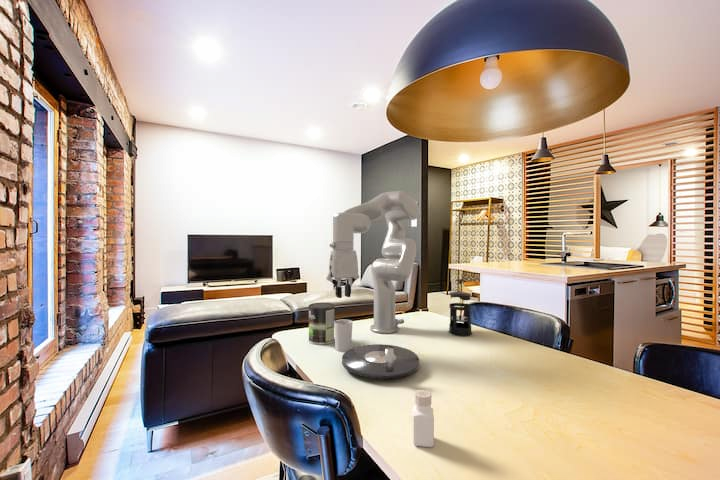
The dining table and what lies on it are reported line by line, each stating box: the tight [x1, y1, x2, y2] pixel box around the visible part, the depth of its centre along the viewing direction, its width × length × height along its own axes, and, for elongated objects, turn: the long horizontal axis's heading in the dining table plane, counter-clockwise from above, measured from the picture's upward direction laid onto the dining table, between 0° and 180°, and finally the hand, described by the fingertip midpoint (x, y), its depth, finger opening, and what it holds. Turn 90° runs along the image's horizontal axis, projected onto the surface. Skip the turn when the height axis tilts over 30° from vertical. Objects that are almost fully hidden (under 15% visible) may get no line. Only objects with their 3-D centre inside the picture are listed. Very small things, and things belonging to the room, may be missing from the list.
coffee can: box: [308, 302, 336, 346], centre depth 125 cm, size 10×10×14 cm
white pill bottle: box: [412, 389, 435, 448], centre depth 62 cm, size 4×4×10 cm
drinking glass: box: [334, 319, 353, 353], centre depth 115 cm, size 7×7×10 cm
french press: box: [448, 278, 473, 337], centre depth 135 cm, size 12×9×23 cm
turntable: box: [341, 343, 420, 379], centre depth 99 cm, size 24×24×9 cm
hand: (343, 296), depth 115 cm, fingers open, 2 cm apart
